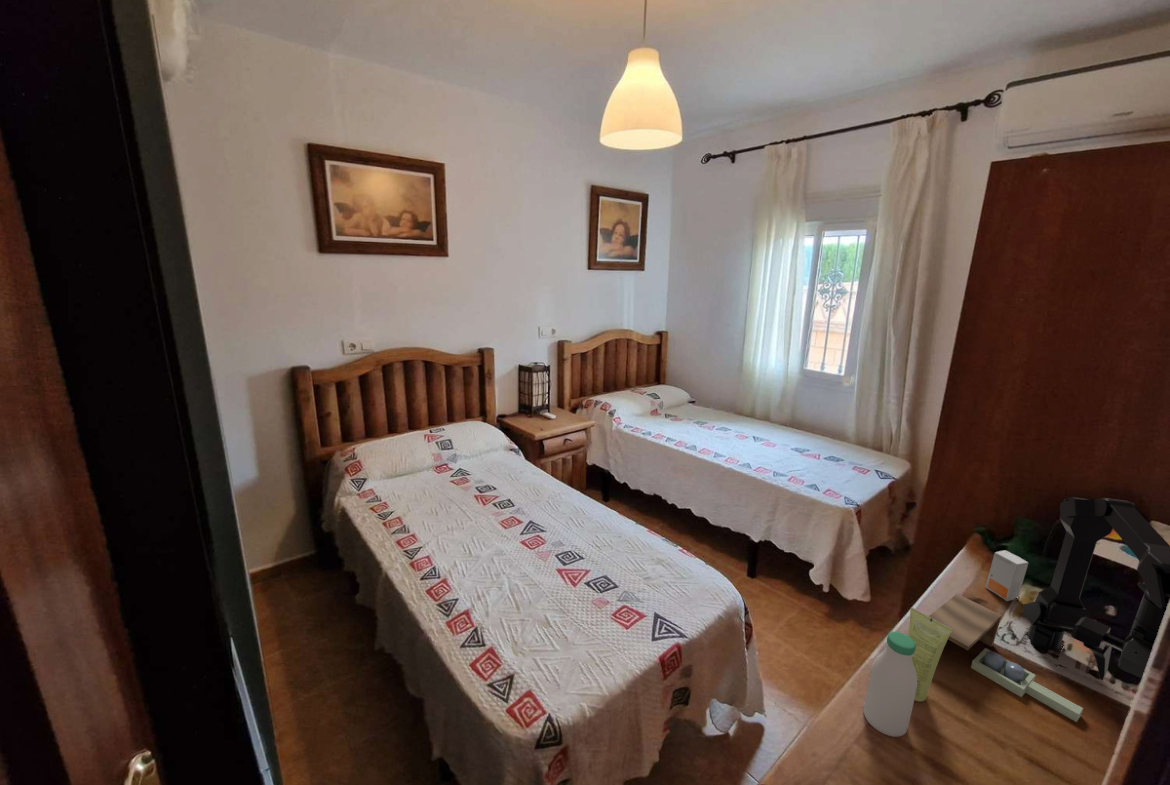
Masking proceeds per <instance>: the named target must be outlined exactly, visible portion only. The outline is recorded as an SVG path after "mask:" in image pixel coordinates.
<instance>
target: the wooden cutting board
mask: <svg viewBox="0 0 1170 785" xmlns="http://www.w3.org/2000/svg"><path fill="white" fill-rule="evenodd" d="M928 616H929V617H930V618H932V619H934V620H936V621H938V622H940V623H942V624H944V625H946V626H947V627H949V628H951V629H953V630H952V633H951V634H950V636H949V638H948V640H949V641H951V643H954V644H955V645H958V646H959V647H961V648H962V649H964V650H966V651H969V650H970V649H971V648H972V647H973V646H974V645H975V644H976V643H977V642H978V641H979V642H982V643H983V644H986V645H987V646H988V647H991V648H992V647H993V646H994V643H995V639H996V636H997V632H998V630H999V625H1000V622H1001V619H1002V615H1001V614H999V613H997V612H996V611H993V610H992V609H989V608H987V607H986V606H983V605H981V604H979V603H977V602H975V601H974V600H971V599H968V598H967V597H965V596H962V595H960V594H958V593H956V594H955V595H954V596H952V597H951V598H950V599H948V600H947V601H945V603H943V604H942V605H941V606H939V608H937V609H936V610H935V611H933V612H931V614H930V615H928ZM948 640H947V641H948Z"/></svg>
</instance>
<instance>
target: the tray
mask: <svg viewBox="0 0 1170 785" xmlns="http://www.w3.org/2000/svg"><path fill="white" fill-rule="evenodd" d="M988 651H991V650H990V649H988V648H987V647H985V648H984V649H983V650H982V651H981V652H979V654H978V655H977V656H976V657H975V658H973V659H972V661H971V665H970V669H972V670H974V671H976V672H977V673H979V674H981V675H983V677H986V678H987V679H990V681H992V682H994V683H995V684H998V685H1000V686H1001V687H1002V688H1005V689H1006V690H1008V691H1010V692H1011V693H1013V694H1015V695H1017V696H1018V697H1020V698H1023V697H1024V695H1025V694H1027V695H1028V696H1031V697H1032V698H1034V699H1036V700H1037V701H1039V702H1040V703H1042V704H1045V705H1046V706H1047V707H1050V708H1051V709H1053V710H1054V711H1056V712H1058V713H1059V714H1061V715H1062V716H1065V717H1067V718H1069V719H1070V720H1072V721H1074V722H1076V723H1078V720H1079V719H1080V718H1081V717H1082V712H1083V710H1084V708H1083V707H1082V706H1080V705H1078V704H1076V703H1074V702H1072V701H1071V700H1069V699H1067V698H1065V697H1063V696H1061V695H1059V694H1058V693H1056V692H1054V691H1052V690H1050V689H1049V688H1046V687H1045V686H1043V685H1041V684H1040V683H1037V682H1035V679H1036V674H1035V673H1034V672H1033V673H1032V672H1031V671H1029V670H1027V669H1026V668H1024V667H1022V668H1023V669H1024V671H1025V672H1024V675H1023V679H1022V682H1021V685H1019V684H1017V683H1016V682H1014V681H1012V680H1010V679H1009V678H1007V677H1005V676H1003V674H1004V671H1005V667H1006V663H1007V662H1012V661H1010V659H1007V658H1005V657H1003V659H1004V661H1003V665H1002V669H1001V673H998V672H996V671H994V670H993V669H991V668H989V667H987V666H985V665H984V661H985V657H986V653H987V652H988Z"/></svg>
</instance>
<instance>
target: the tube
mask: <svg viewBox="0 0 1170 785" xmlns="http://www.w3.org/2000/svg"><path fill="white" fill-rule="evenodd" d="M909 615H910V616H909V627H908V633H907V634H908V635H907V636H909V637H910V638H911V639H912V640H913V641H914V642H915V645H916V648H915V652H914V656H913V657H912V662H913V666H914V668H915V671H916V675H917V689H916V694H915V699H914V702H924V701H926V700H927V697H928V693H929V690H930V687H931V685H932V680H933V677H934V675H935V672H936V669H937V666H938V664H939V661H940V660H941V659H940V658H941V656H942V653H943V651H944V648H945V646H946V645H947V642H948V638H949V636H950V634H951V633H952V630H953V629H951V628H949V627H947V626H946V625H944V624H942V623H940V622H938V621H936V620H934V619H932V618H930V617H929V616H930V615H927V614H925V613H922V612H921V611H920V610H917V609H915V608H914V607H910V612H909Z"/></svg>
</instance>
